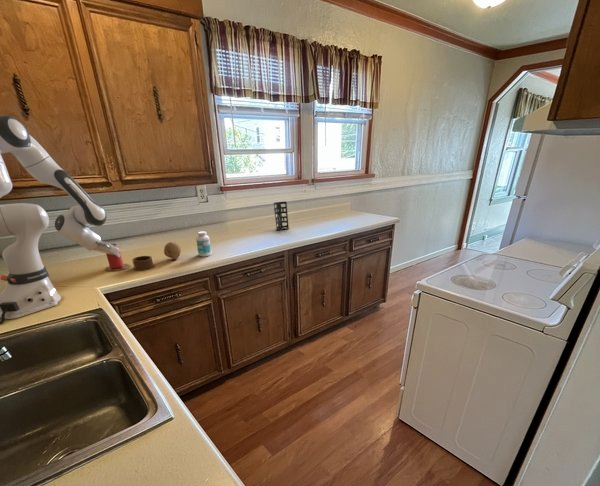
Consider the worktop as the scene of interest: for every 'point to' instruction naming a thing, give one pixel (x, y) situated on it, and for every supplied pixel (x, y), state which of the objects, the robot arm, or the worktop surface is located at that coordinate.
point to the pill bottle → (203, 244)
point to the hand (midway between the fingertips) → (114, 255)
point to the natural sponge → (172, 250)
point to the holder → (279, 215)
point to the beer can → (115, 259)
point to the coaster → (117, 268)
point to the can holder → (143, 263)
